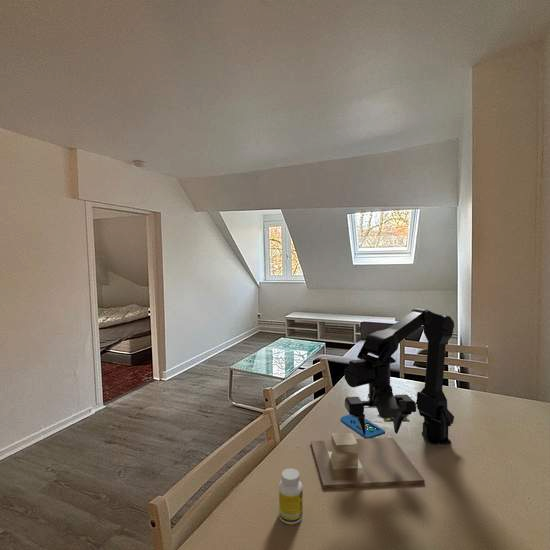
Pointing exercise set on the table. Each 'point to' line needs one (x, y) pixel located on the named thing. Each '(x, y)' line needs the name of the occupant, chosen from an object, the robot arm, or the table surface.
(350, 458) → the beech block
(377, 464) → the walnut board
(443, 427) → the robot arm
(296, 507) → the supplement bottle
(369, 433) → the handheld gaming device
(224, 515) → the table surface
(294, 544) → the table surface
